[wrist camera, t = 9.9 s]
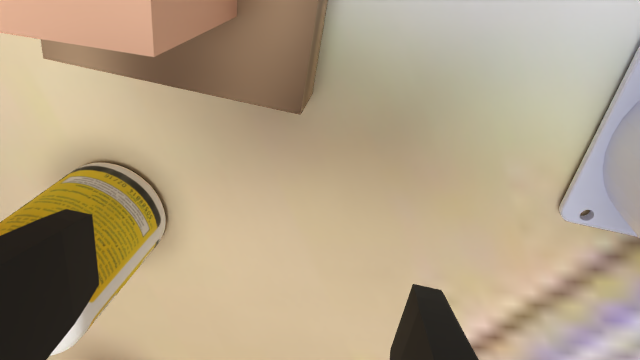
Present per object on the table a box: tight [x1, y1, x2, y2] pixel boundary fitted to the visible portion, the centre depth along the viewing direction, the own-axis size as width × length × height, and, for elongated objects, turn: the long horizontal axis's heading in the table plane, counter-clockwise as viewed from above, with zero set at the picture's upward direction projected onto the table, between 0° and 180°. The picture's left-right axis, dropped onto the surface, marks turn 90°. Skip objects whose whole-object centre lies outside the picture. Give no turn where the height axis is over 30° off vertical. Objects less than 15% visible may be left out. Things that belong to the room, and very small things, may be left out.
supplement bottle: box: [0, 163, 166, 356], centre depth 19 cm, size 5×5×10 cm
